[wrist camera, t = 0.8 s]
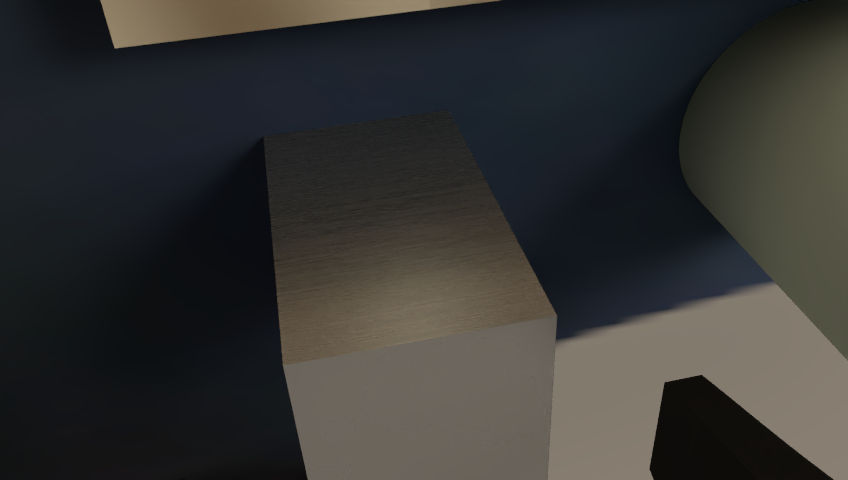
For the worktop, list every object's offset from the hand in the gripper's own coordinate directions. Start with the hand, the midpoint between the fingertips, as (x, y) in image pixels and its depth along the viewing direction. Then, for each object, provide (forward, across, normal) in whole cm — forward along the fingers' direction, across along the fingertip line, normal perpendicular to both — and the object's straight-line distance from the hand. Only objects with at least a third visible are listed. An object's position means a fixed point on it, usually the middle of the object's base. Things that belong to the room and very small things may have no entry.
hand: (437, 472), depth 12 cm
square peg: (+8, 0, 0) cm, 8 cm away
